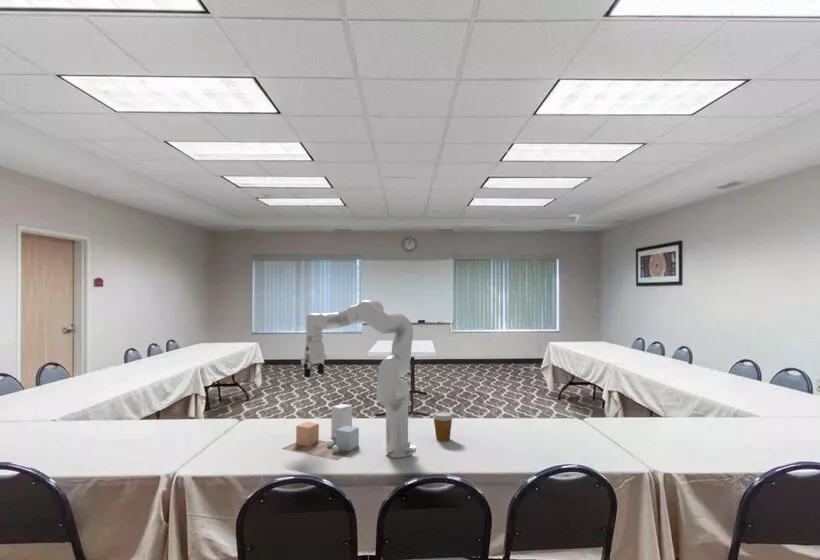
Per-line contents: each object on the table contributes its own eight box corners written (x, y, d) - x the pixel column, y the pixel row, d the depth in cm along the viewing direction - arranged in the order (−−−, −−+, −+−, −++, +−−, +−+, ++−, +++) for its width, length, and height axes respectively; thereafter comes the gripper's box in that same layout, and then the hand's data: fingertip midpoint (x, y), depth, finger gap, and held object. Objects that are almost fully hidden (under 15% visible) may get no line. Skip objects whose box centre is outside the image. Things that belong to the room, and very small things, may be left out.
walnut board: (359, 451, 182) (359, 447, 182) (337, 463, 168) (337, 460, 168) (306, 441, 196) (306, 437, 196) (281, 452, 182) (281, 448, 182)
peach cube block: (318, 441, 191) (318, 423, 191) (308, 446, 184) (308, 427, 185) (306, 439, 194) (306, 421, 194) (296, 443, 188) (296, 425, 188)
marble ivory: (327, 441, 186) (325, 446, 183) (328, 437, 185) (326, 442, 182) (333, 443, 186) (331, 449, 184) (335, 439, 185) (333, 444, 182)
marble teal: (337, 446, 175) (331, 450, 174) (340, 451, 176) (334, 455, 175) (336, 442, 178) (330, 446, 177) (339, 447, 179) (333, 451, 178)
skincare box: (339, 442, 194) (339, 408, 194) (330, 439, 198) (330, 406, 198) (352, 437, 200) (352, 404, 201) (343, 435, 204) (343, 403, 205)
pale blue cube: (358, 446, 184) (358, 427, 185) (349, 451, 178) (349, 432, 179) (345, 443, 188) (345, 425, 188) (336, 448, 181) (336, 429, 182)
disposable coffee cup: (453, 436, 201) (452, 411, 202) (453, 443, 192) (452, 416, 192) (433, 435, 202) (433, 410, 203) (432, 442, 192) (432, 416, 193)
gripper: (308, 341, 191) (308, 379, 190) (331, 338, 206) (331, 373, 205) (295, 340, 194) (295, 377, 193) (319, 337, 209) (319, 372, 209)
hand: (314, 375), depth 199 cm, fingers open, 9 cm apart
